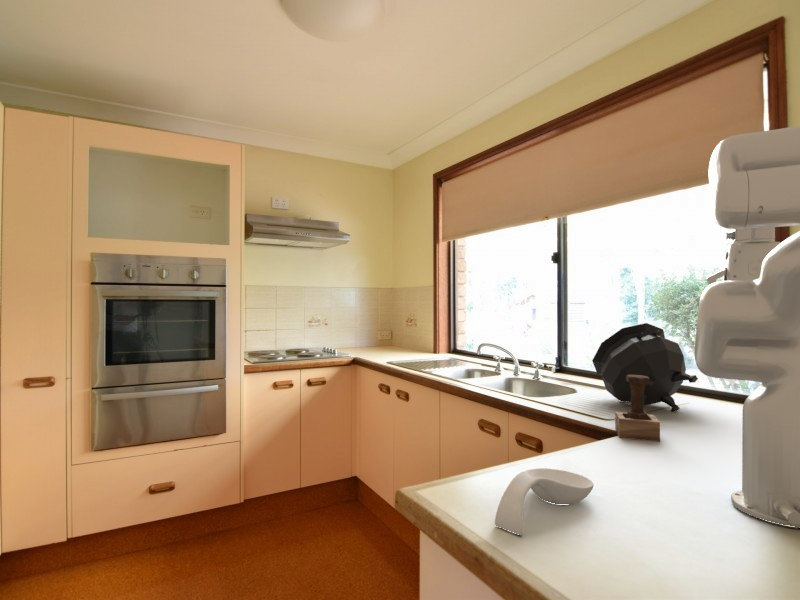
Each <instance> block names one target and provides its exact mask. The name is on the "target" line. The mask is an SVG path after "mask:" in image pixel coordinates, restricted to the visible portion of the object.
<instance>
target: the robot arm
mask: <svg viewBox="0 0 800 600" xmlns="http://www.w3.org/2000/svg"><path fill="white" fill-rule="evenodd" d="M708 183H709V192H710V202H711V204H710V205H711V211H712V216H713V219H714V221H715V223H716V224H717V225H718V226H720V227H722V228H724V229H729V230H730V231H729V232H724V234H723V238H724V240H730V243H729V244H728V245H727V249H726V252H725V259H724V266H723V269H722V270H720V271H717V272H715V273H714V274H711V275H709V276H708V275H707V277H706V278H705V280H706V282H707V284H708V285H707V286H706V287H705V288H704V290H703V291H702V293H701V295H700V298H699V302H698V303H699V304H698V309H697V319H696V320H697V321H696V330H695V341H694V360H695V364H696V367H697V369H698V371H700V373H702V375H705V376H707V377H710V378H714V379H722V380H723V379H725V380H735V381H749V382H750V381H751V382H757V383H761V384H760V385H758V386H757V388H755V389H754V390H752V392H751V393H750V394H749V395H748V396H747V398H745V400H744V403H743V406H742V443H741V445H742V447H741V450H742V453H741V454H742V456H741V458H742V461H741V462H742V463H741V464H742V465H741V467H742V469H741V470H742V471H741V473H742V475H741V490H737V491H734V492H732V494H731V495H730V500H731V504H732V506H733V507H735V508H736V509H737V508H738V509H737V510H739V511H740V510H741V512H742V511H743V512H742V513H744V512H745V513H744V514H746V513H747V514H746V515H748V514H750V515H752V516H755V517H757V518H761V519H764V520H767V521H771V522H775V523H779V524H783V525H790V526H795V527H800V230H798V231H796V232H795V233H793V234H791V235H790V236H788V237H786V239H784V240H783V241H781V242H780V241H776V234H775V233H776V228H780V227H781V228H782V227H793V226H794V227H796V226H800V126H798V127H797V126H791V127H783V128H777V129H770V130H763V131H762V130H761V131H757V132H750V133H749V132H748V133H742V134H737V135H736V134H735V135H732V136H728V137H726V138H724V139H723V140H721V141H720V142H719V143H718V144H717V145H716V146H715V148H714V150H713V152H712V154H711V156H710V160H709V165H708ZM720 278H722V280H721V281H719V280H718V279H720ZM717 280H718V281H717ZM750 515H749V516H750ZM752 516H751V517H752ZM755 517H754V518H755ZM757 518H756V519H757Z"/></svg>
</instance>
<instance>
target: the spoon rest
mask: <svg viewBox="0 0 800 600" xmlns="http://www.w3.org/2000/svg"><path fill="white" fill-rule="evenodd" d="M593 488H594V483H593V481H592V480H591V479H589V478H588V477H586V476H584V475H582V474H578V473H576V472H570V471H566V470H564V469H563V470H561V469H555V468H547V467H546V468H531V469H526V470H524V471H522V472H521V471H520V472H519V473H517V474H516V475H515V476H514V477H513V479H512V480H511V481H510V482H509V483H508V486H507V487H506V489H505V491H504V492H503V494H502V496H501V499H500V501H499V504H498V506H497V510H496V515H495V519H494V526H495V525H496V526H498V527H501V528H504V529H506V530H509V531H511V532H514V533H516V534H519V535H522V536H523V535H524V531H523V530H524V529H523V527H524V526H523V510H524V509H523V507H524V503H525V502H524V501H525V499H526V497H527V494H528V492H529V491H530V490H531V491H532V492H533V493H534V494H535V495H537V497H538V498H539V497H540V498H541V499H543V500H545V501H548V502H551V503H555V504H573V505H574V504H577V503H579V502H581V501H583V500H584V499H586V498H587V497H588V496H589V495H590V493H591V492H592V490H593ZM540 498H539V499H540ZM541 499H540V500H541ZM496 526H495V527H496ZM498 527H497V528H498Z"/></svg>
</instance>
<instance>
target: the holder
mask: <svg viewBox="0 0 800 600" xmlns="http://www.w3.org/2000/svg"><path fill="white" fill-rule="evenodd" d="M614 413H615V416H614V417H615V419H614V420H615V423H614V425H615V426H614V429H615V432H616V434H617V436H618V438H621V439H628V440H630V439H631V440H639V441H640V440H641V441H647V442H648V441H649V442H658V443H659V442H661V422H660V420H659V419H658V418H657V417H656V416H655V415H654V414H651V413H650V414H649V413H647V419H646V420H643V419H631V418H628V416H627V412H625V411H615V412H614Z"/></svg>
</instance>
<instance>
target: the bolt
mask: <svg viewBox="0 0 800 600" xmlns="http://www.w3.org/2000/svg"><path fill="white" fill-rule="evenodd" d="M626 381H628V382H631V403H630V409H628V410H627V416H628V418H631V419H643V420H646V419H647V414H648V412H647V411H645V405H644V398H643V397H644V389H645V383H650V379H649V377H647V376H643V375H627V376H626Z"/></svg>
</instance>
